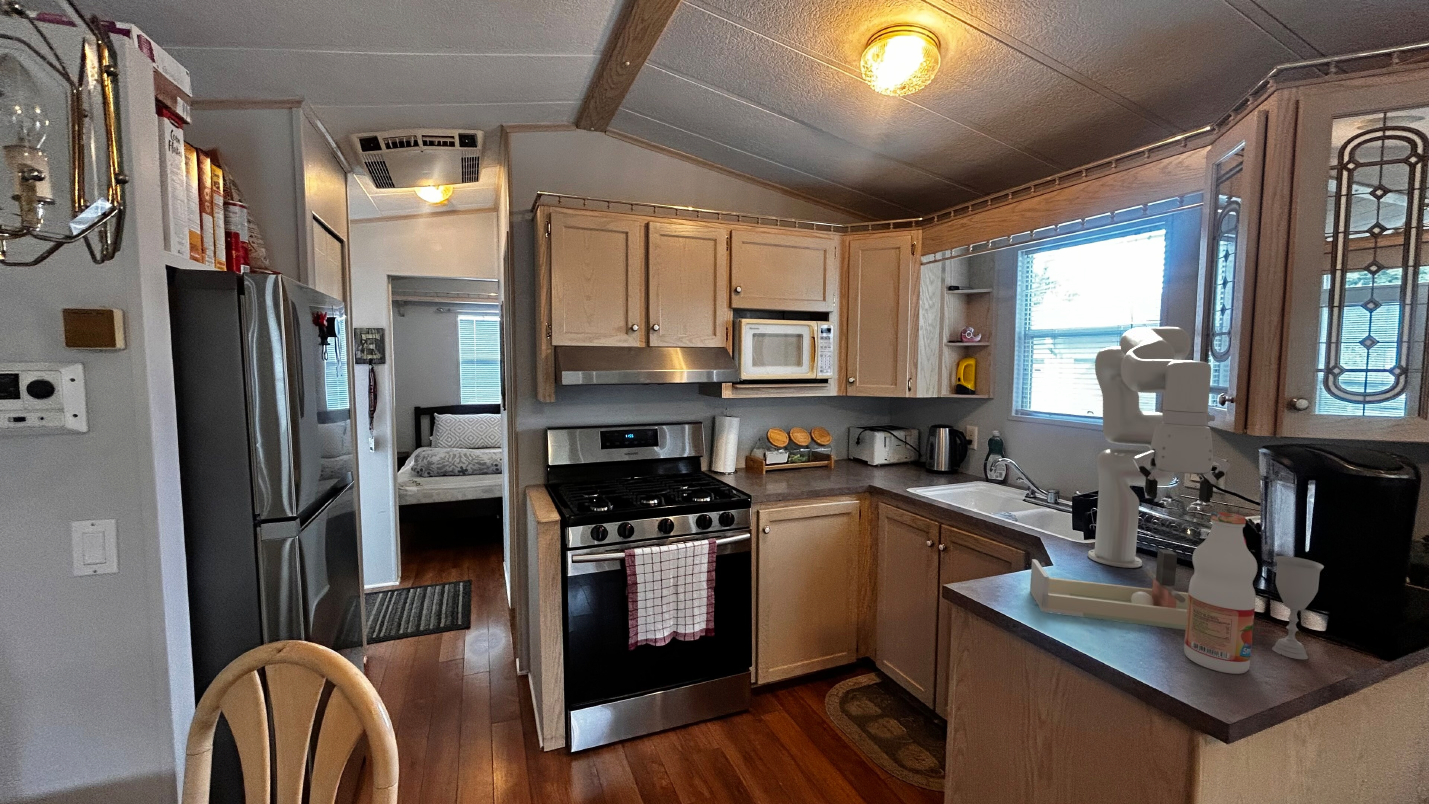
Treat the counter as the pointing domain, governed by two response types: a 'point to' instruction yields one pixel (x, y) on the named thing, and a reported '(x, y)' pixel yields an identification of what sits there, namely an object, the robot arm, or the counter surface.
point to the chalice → (1295, 597)
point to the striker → (1165, 580)
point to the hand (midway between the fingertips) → (1177, 498)
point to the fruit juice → (1221, 598)
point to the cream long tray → (1101, 601)
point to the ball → (1142, 598)
